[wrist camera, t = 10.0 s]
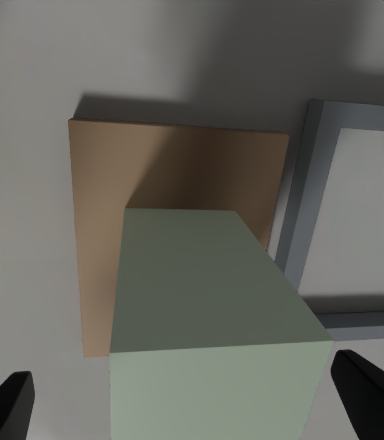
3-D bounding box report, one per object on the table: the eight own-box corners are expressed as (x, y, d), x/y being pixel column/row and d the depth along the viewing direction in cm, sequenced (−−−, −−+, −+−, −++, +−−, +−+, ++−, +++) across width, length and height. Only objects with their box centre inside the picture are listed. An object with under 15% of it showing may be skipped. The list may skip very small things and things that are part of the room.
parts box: (235, 210, 14) (334, 340, 7) (221, 301, 16) (287, 475, 9) (124, 207, 13) (109, 353, 6) (124, 304, 15) (111, 499, 8)
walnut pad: (282, 132, 14) (289, 135, 13) (242, 337, 19) (246, 347, 18) (72, 117, 12) (68, 119, 12) (86, 345, 17) (84, 357, 16)
